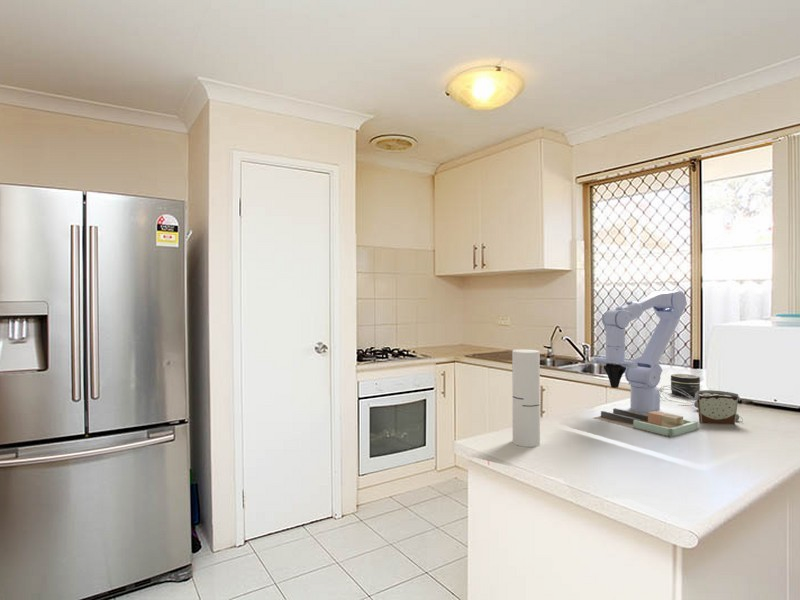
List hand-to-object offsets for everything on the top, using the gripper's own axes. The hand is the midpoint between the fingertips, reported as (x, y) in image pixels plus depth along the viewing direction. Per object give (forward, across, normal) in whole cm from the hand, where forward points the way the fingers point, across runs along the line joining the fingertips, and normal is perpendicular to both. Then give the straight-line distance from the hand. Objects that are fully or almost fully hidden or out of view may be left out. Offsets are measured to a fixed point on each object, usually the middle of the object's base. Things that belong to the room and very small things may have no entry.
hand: (614, 387), depth 153 cm
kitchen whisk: (+9, +10, +32) cm, 35 cm away
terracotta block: (+8, +17, -4) cm, 19 cm away
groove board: (+9, +12, -4) cm, 16 cm away
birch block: (+8, +21, -3) cm, 23 cm away
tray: (+8, +19, -4) cm, 21 cm away
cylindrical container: (+10, +4, -46) cm, 47 cm away
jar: (+9, -4, +53) cm, 54 cm away
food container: (+9, +22, +16) cm, 29 cm away
